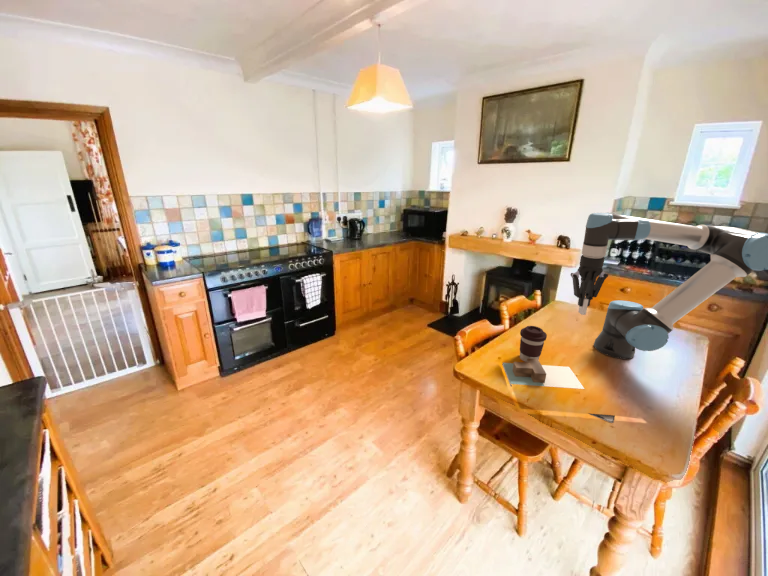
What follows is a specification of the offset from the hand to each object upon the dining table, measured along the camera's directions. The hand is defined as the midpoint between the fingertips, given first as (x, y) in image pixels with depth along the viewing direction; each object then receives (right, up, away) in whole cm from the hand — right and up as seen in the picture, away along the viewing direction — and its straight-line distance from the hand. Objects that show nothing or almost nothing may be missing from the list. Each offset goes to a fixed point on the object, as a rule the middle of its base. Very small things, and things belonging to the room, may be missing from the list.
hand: (581, 313), depth 128 cm
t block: (-23, -24, -2) cm, 33 cm away
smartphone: (-3, -31, -17) cm, 36 cm away
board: (-17, -25, -2) cm, 31 cm away
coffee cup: (-17, -21, +9) cm, 29 cm away
